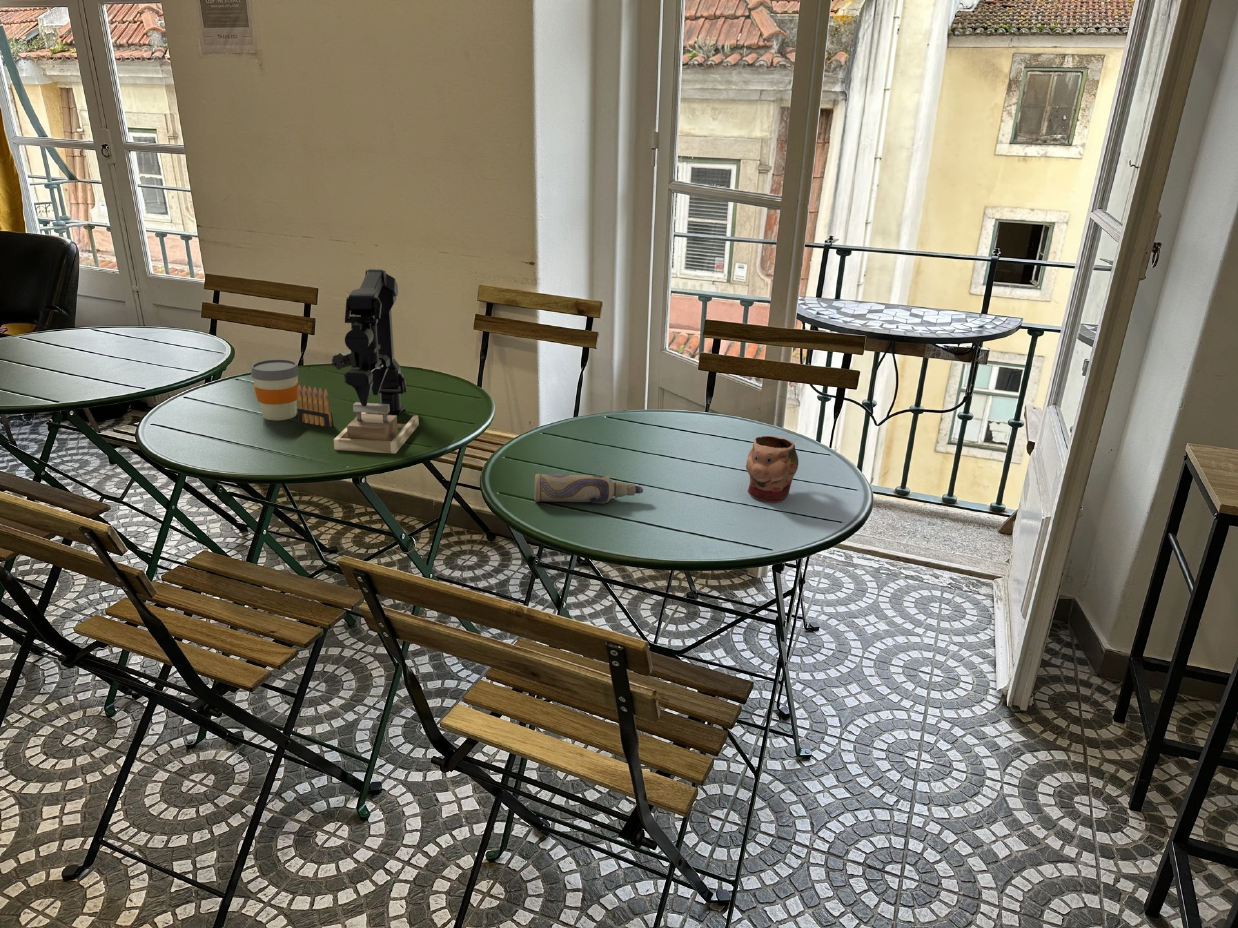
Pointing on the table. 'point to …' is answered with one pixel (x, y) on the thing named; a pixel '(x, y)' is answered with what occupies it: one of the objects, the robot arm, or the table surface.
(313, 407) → the ammunition clip
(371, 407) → the panel with bar handle
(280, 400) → the reusable coffee cup
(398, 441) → the bay
